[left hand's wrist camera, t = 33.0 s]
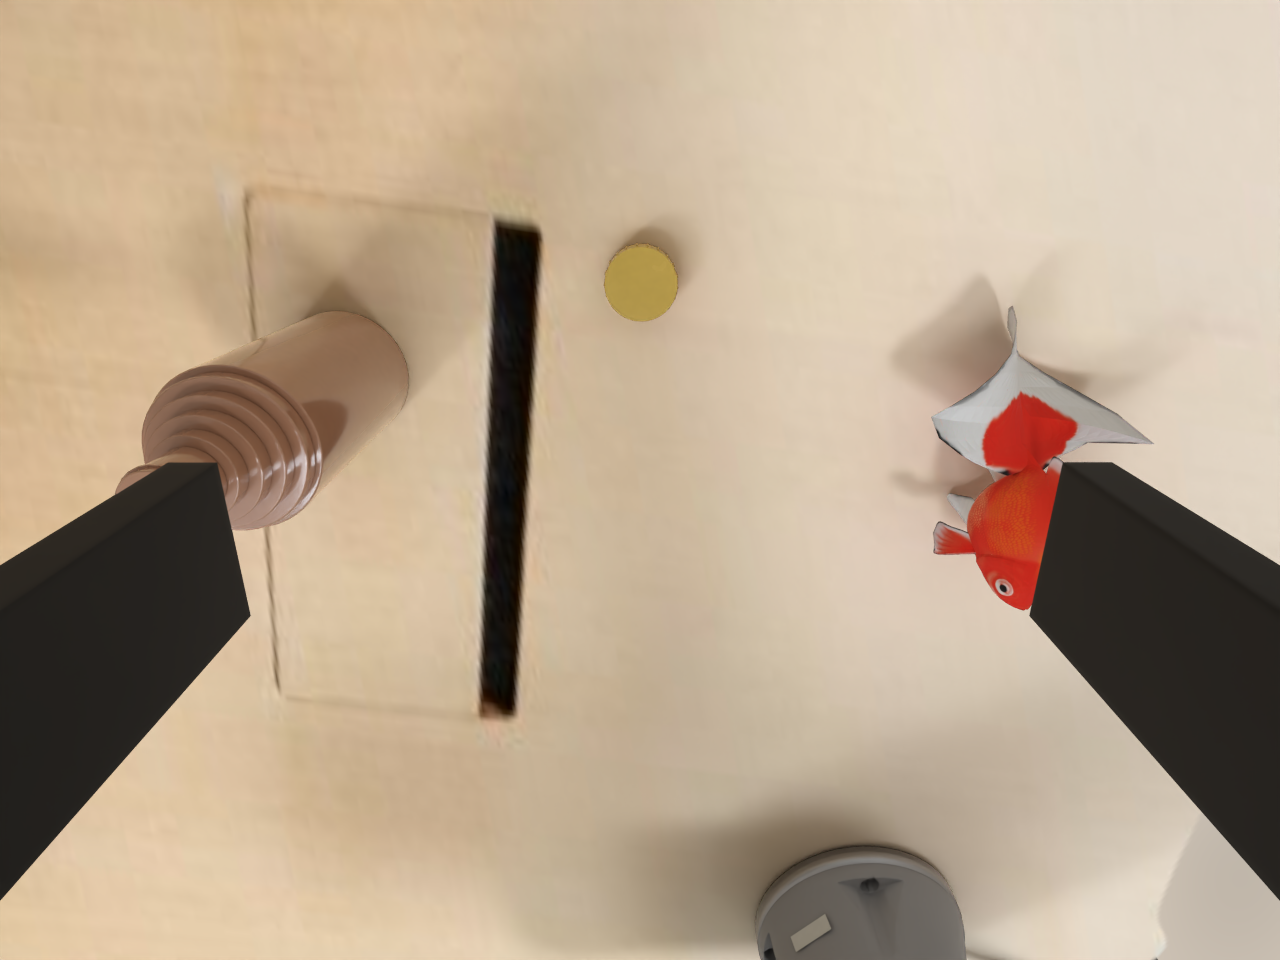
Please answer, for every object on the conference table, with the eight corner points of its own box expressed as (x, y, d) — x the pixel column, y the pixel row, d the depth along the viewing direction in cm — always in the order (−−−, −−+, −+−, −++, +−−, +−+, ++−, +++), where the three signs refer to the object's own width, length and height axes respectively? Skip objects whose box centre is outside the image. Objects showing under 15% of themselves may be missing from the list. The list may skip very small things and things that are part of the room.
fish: (845, 581, 43) (996, 610, 34) (885, 308, 44) (1041, 265, 35) (983, 601, 47) (1149, 632, 38) (1016, 353, 48) (1184, 326, 39)
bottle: (330, 453, 45) (140, 626, 28) (256, 346, 43) (-2, 463, 26) (433, 400, 44) (300, 547, 27) (362, 287, 42) (167, 368, 24)
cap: (690, 291, 42) (692, 296, 40) (630, 329, 42) (629, 336, 41) (652, 228, 41) (653, 230, 39) (591, 268, 41) (589, 273, 40)
